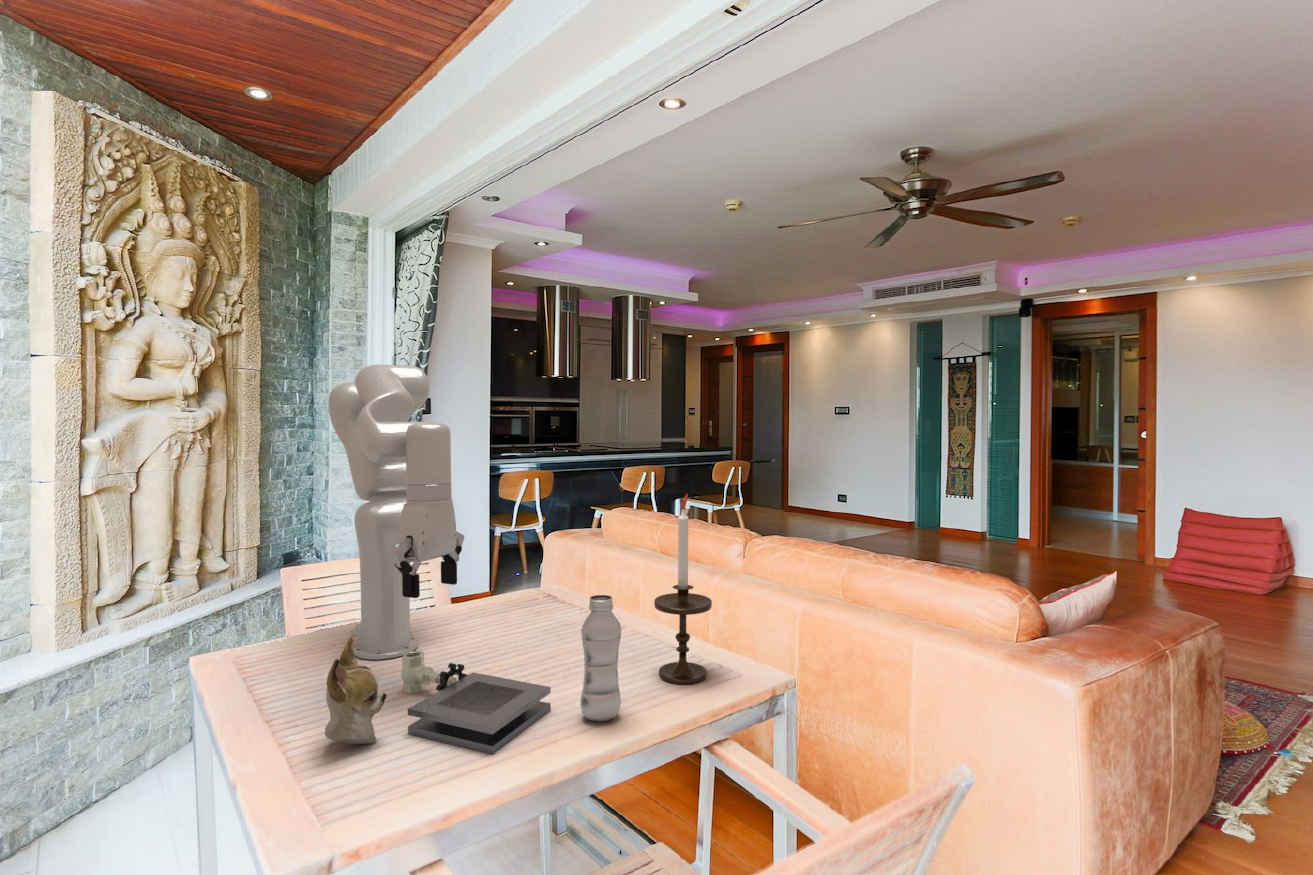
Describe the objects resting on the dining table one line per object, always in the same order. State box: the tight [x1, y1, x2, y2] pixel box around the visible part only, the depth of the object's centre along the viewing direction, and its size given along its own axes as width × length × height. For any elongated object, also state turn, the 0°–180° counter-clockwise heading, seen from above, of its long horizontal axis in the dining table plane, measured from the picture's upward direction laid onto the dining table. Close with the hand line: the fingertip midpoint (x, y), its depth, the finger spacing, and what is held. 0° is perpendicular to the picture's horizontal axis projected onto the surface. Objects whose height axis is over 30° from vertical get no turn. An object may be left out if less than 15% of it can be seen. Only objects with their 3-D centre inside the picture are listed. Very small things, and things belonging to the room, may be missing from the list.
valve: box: [400, 650, 468, 695], centre depth 122 cm, size 7×7×12 cm
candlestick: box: [653, 493, 713, 686], centre depth 130 cm, size 11×11×35 cm
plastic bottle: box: [579, 594, 622, 722], centre depth 113 cm, size 6×7×20 cm
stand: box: [407, 671, 552, 755], centre depth 112 cm, size 16×16×4 cm
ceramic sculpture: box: [324, 636, 387, 745], centre depth 104 cm, size 11×9×15 cm
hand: (430, 590), depth 121 cm, fingers open, 9 cm apart
